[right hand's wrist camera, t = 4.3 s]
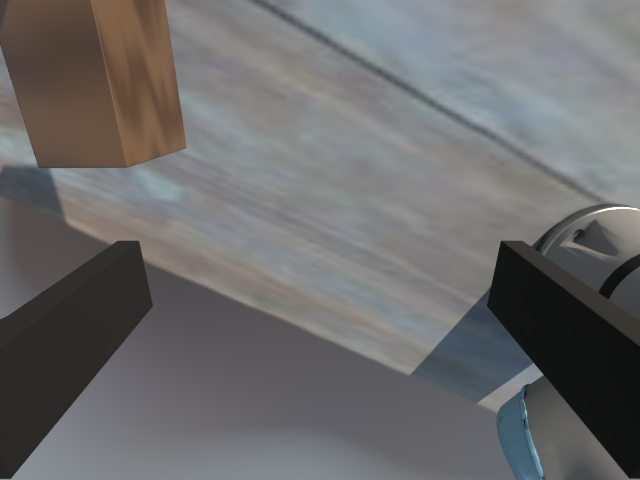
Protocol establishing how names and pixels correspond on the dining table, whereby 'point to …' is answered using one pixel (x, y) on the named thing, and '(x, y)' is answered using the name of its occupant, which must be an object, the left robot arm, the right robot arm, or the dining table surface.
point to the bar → (93, 80)
